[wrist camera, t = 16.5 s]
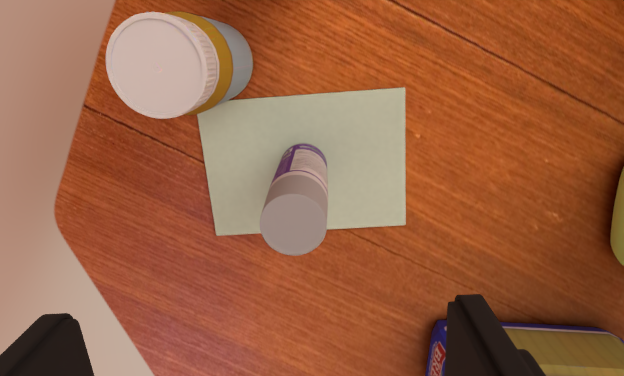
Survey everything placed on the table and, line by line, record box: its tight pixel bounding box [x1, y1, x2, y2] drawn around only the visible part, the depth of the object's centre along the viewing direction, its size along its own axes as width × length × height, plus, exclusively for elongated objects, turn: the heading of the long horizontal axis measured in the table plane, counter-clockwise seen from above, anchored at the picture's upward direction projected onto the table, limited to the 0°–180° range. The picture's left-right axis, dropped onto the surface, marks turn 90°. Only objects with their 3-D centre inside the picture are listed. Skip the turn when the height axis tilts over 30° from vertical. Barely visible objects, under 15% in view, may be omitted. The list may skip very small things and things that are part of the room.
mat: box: [197, 87, 406, 236], centre depth 42 cm, size 20×14×1 cm
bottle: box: [106, 11, 253, 119], centre depth 32 cm, size 7×7×15 cm
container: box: [260, 143, 328, 255], centre depth 34 cm, size 5×5×15 cm
